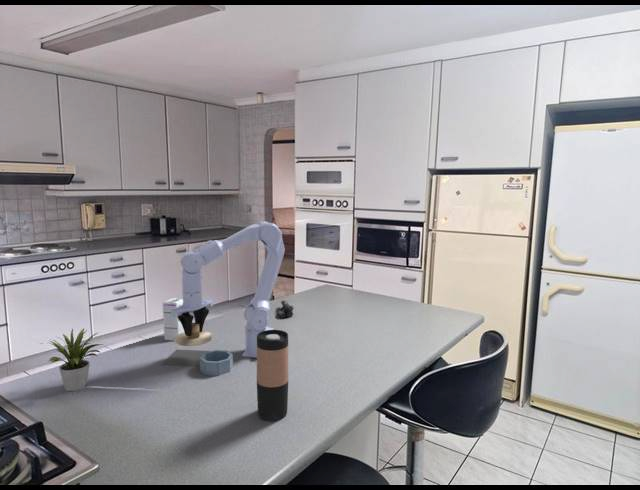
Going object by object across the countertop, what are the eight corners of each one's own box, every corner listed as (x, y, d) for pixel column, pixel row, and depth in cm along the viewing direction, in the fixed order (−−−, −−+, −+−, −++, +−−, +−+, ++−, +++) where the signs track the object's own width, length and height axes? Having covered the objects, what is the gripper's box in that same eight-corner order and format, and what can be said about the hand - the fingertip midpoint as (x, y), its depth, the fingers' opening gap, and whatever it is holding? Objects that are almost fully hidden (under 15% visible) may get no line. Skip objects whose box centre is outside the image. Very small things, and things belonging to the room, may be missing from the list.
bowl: (235, 364, 127) (235, 350, 127) (227, 377, 118) (226, 363, 118) (207, 363, 128) (206, 349, 127) (196, 376, 119) (196, 361, 118)
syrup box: (178, 342, 145) (177, 302, 143) (163, 341, 146) (162, 301, 144) (187, 336, 150) (185, 298, 149) (172, 335, 152) (171, 297, 150)
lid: (216, 333, 133) (216, 319, 132) (204, 346, 122) (204, 331, 121) (183, 332, 134) (183, 318, 133) (168, 345, 123) (168, 329, 122)
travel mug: (257, 405, 103) (257, 329, 101) (288, 404, 104) (288, 329, 101) (255, 422, 96) (255, 340, 93) (288, 421, 97) (288, 340, 94)
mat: (211, 352, 136) (211, 350, 136) (198, 368, 124) (198, 366, 124) (176, 351, 137) (176, 349, 137) (160, 366, 125) (160, 364, 125)
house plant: (57, 408, 101) (52, 344, 99) (30, 392, 108) (25, 333, 106) (112, 385, 113) (109, 328, 111) (85, 373, 120) (81, 319, 118)
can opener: (294, 319, 174) (294, 306, 173) (278, 319, 173) (278, 307, 172) (291, 307, 191) (291, 295, 190) (276, 307, 190) (276, 296, 189)
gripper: (202, 284, 134) (203, 324, 136) (163, 294, 122) (165, 337, 124) (217, 287, 130) (218, 328, 132) (179, 297, 118) (180, 342, 120)
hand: (193, 333), depth 128 cm, fingers closed on lid, 4 cm apart
